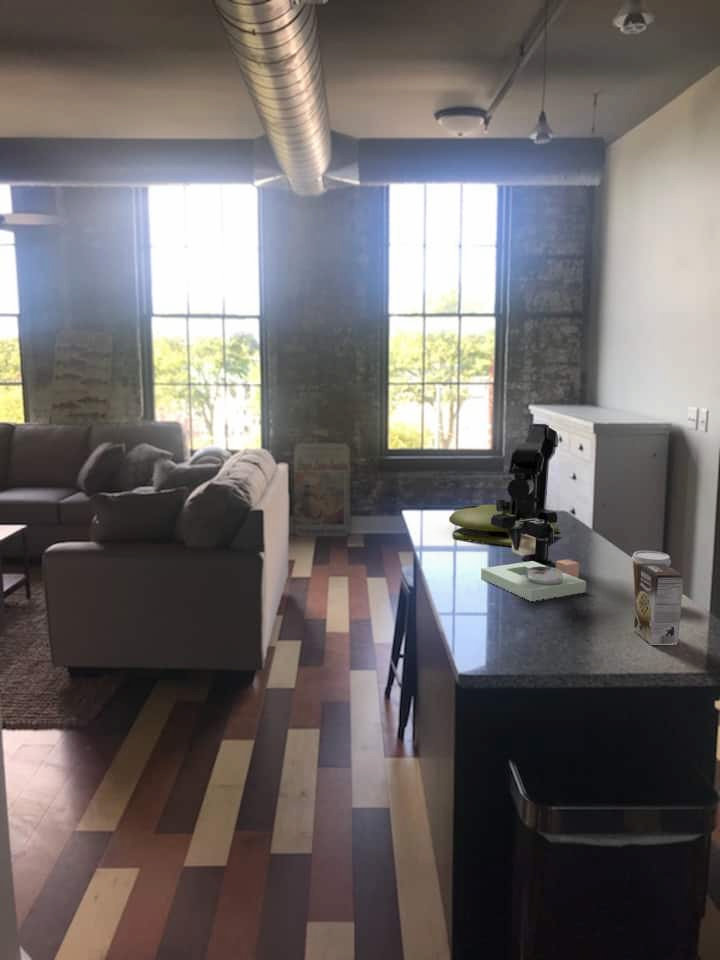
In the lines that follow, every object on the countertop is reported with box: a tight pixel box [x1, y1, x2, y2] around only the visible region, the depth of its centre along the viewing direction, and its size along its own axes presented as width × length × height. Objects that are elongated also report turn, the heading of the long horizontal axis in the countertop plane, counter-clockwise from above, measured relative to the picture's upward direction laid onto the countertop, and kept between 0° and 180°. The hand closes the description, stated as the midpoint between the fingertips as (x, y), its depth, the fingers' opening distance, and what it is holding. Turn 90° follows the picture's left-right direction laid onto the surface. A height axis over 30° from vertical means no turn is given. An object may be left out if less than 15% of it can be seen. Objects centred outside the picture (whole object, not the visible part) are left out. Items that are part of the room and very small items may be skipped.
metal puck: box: [528, 566, 563, 585], centre depth 201 cm, size 9×9×2 cm
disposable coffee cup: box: [631, 550, 672, 600], centre depth 194 cm, size 10×10×12 cm
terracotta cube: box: [555, 558, 580, 579], centre depth 214 cm, size 4×4×4 cm
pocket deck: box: [480, 561, 587, 602], centre depth 207 cm, size 18×22×3 cm
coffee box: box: [633, 563, 685, 645], centre depth 168 cm, size 9×6×16 cm
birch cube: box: [511, 534, 536, 557], centre depth 209 cm, size 4×4×4 cm
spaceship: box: [448, 504, 560, 548], centre depth 265 cm, size 35×31×10 cm
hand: (523, 549), depth 209 cm, fingers closed on birch cube, 4 cm apart
